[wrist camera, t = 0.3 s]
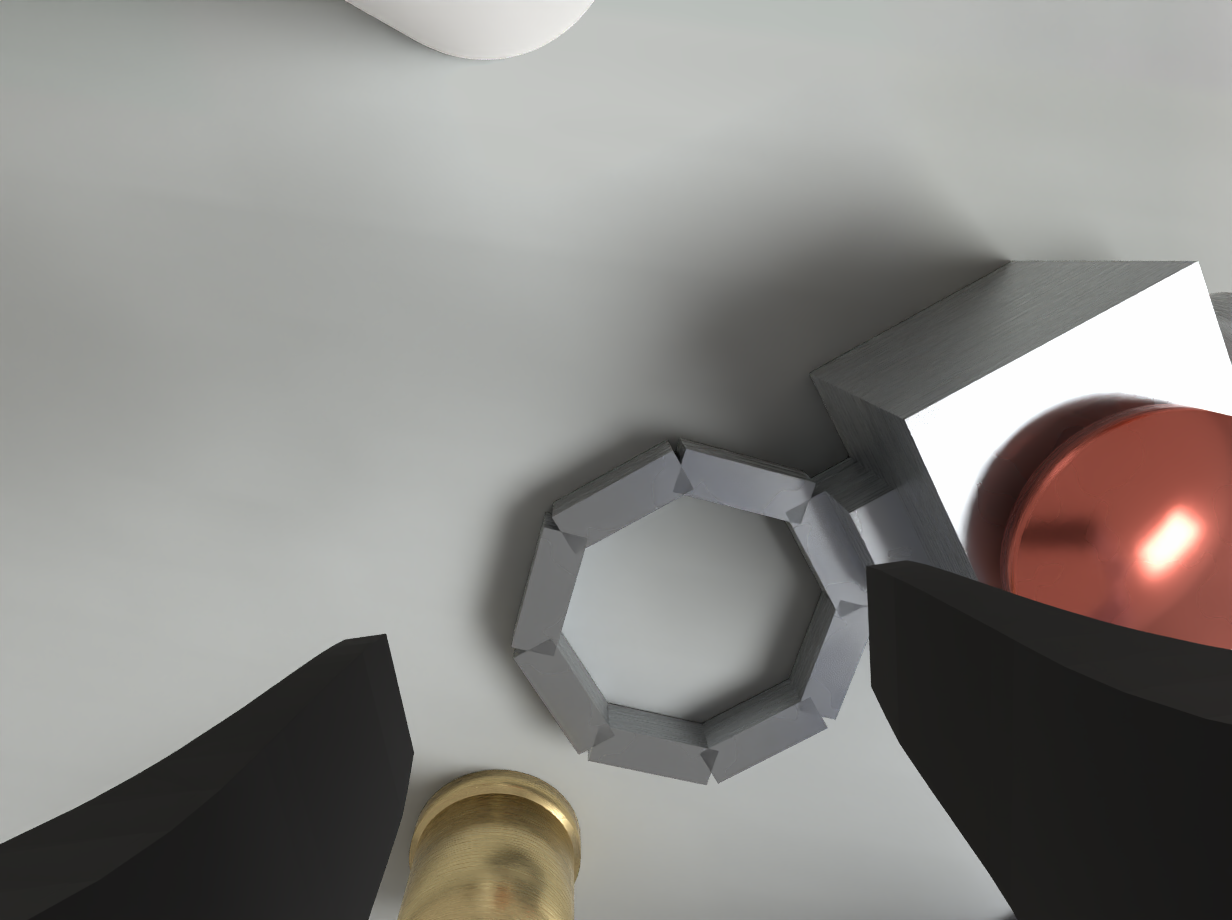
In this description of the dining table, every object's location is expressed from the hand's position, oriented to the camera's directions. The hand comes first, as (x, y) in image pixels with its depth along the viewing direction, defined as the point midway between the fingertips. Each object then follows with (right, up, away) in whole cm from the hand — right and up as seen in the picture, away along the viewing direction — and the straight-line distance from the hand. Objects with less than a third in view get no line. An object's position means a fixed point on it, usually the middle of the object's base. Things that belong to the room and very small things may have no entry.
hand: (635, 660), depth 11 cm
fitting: (-4, -9, +12) cm, 16 cm away
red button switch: (+6, +1, +10) cm, 12 cm away
